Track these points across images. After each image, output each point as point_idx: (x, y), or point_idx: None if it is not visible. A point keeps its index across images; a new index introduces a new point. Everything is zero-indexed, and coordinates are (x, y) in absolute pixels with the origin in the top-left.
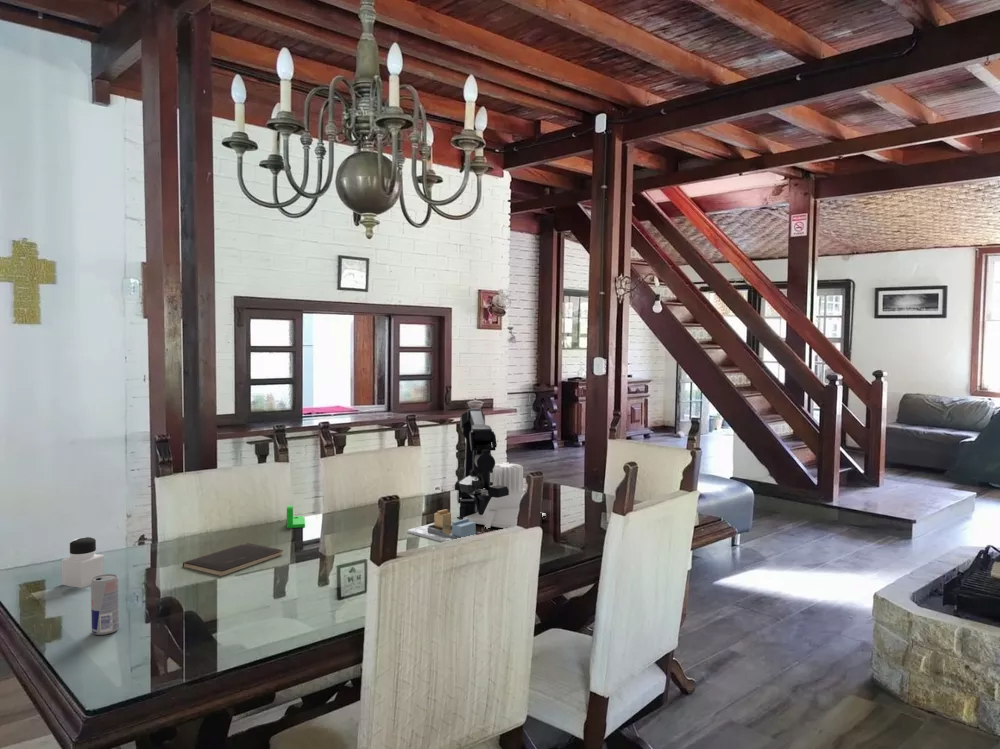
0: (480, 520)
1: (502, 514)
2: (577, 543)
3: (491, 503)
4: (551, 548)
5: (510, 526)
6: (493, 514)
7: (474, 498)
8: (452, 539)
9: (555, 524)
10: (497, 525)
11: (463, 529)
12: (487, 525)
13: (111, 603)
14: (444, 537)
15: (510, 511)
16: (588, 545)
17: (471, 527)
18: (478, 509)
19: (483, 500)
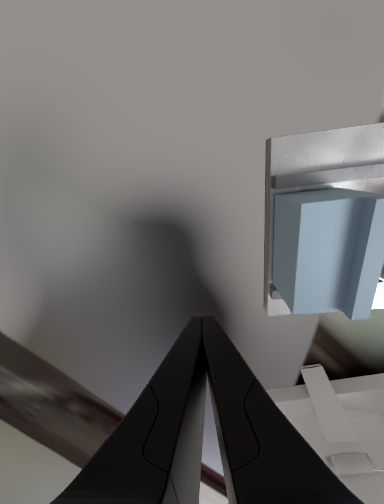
0: (362, 390)
1: None
2: (39, 413)
3: (381, 498)
4: (29, 353)
5: None
6: (326, 435)
7: (309, 494)
8: (306, 159)
9: (202, 473)
10: (283, 392)
11: (291, 219)
12: (316, 378)
13: None
14: (365, 151)
15: None
16: (12, 416)
17: (287, 277)
18: (214, 340)
19: (73, 489)
